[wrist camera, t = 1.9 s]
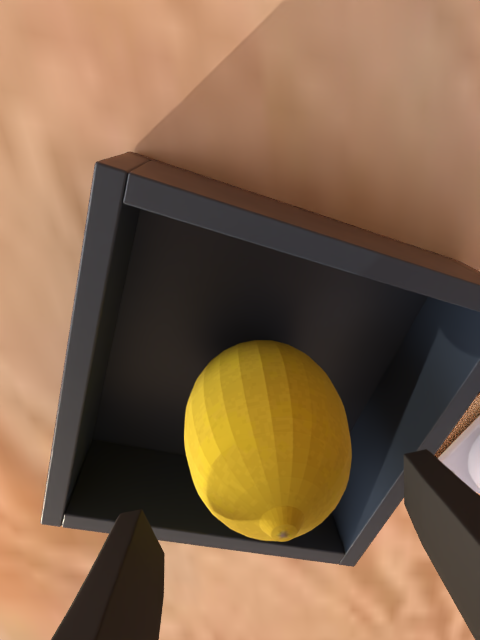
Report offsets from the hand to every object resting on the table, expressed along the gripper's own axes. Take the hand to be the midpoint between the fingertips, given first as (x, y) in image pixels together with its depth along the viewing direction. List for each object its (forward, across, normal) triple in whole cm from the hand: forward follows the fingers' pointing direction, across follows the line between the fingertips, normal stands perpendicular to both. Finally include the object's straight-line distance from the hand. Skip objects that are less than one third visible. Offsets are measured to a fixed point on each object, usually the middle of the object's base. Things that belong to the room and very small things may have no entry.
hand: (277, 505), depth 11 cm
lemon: (+7, 0, 0) cm, 7 cm away
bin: (+8, 0, 0) cm, 8 cm away
